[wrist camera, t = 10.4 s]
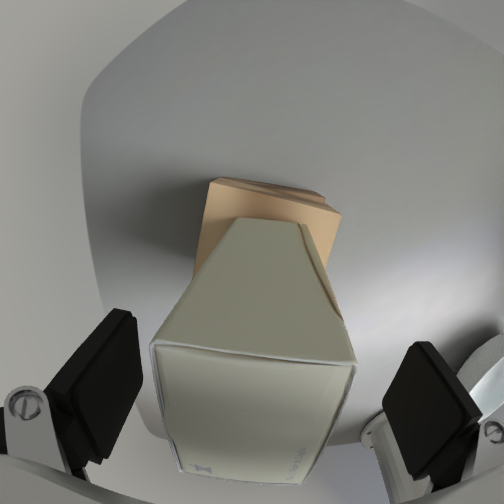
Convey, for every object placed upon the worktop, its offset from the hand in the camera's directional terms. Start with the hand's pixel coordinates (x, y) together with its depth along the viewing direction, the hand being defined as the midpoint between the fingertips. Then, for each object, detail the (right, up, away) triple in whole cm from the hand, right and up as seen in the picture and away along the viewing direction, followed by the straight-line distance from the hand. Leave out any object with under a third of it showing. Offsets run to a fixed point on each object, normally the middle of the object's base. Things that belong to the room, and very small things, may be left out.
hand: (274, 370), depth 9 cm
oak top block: (0, +4, +13) cm, 13 cm away
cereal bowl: (+35, -14, +22) cm, 44 cm away
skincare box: (0, +3, +9) cm, 10 cm away
